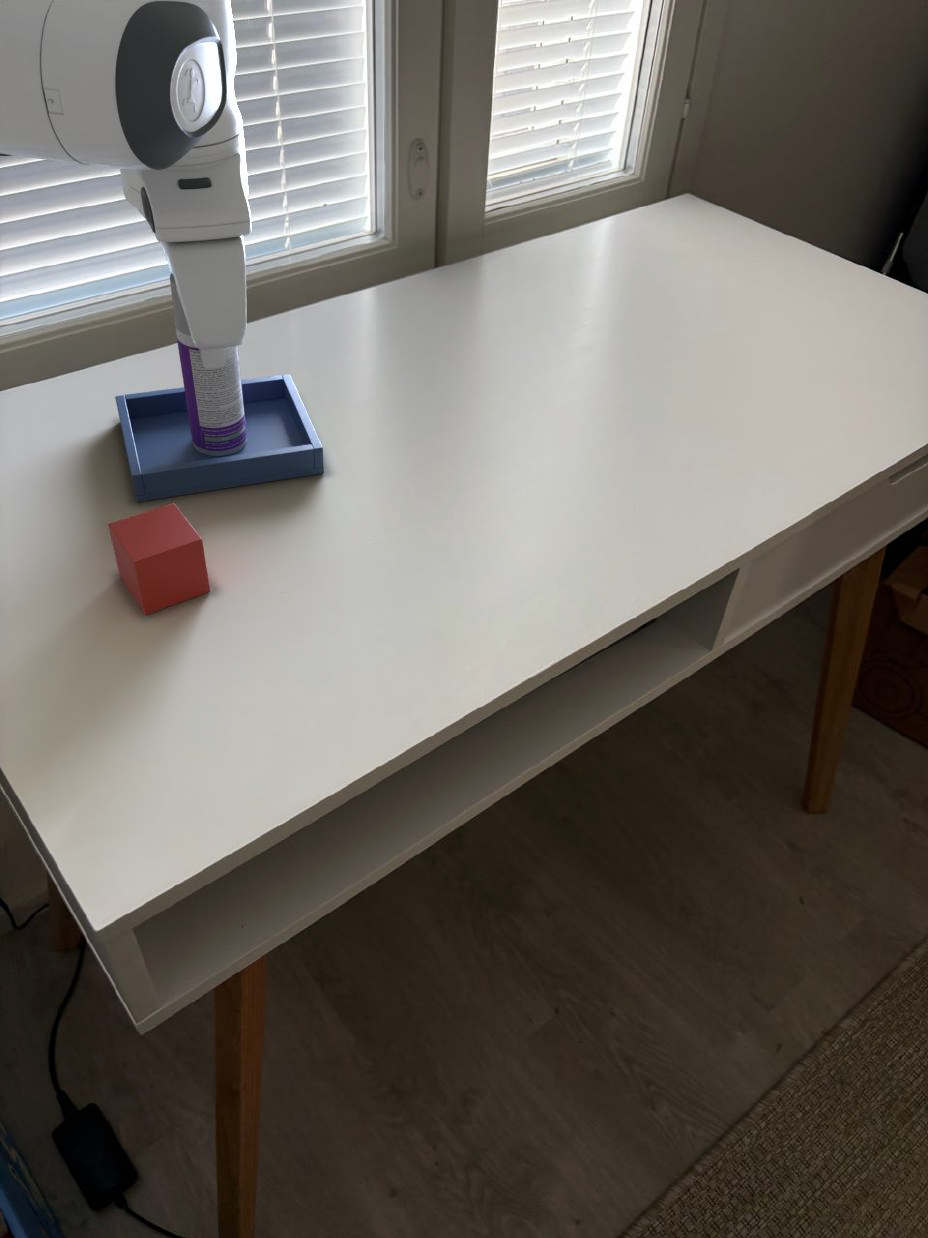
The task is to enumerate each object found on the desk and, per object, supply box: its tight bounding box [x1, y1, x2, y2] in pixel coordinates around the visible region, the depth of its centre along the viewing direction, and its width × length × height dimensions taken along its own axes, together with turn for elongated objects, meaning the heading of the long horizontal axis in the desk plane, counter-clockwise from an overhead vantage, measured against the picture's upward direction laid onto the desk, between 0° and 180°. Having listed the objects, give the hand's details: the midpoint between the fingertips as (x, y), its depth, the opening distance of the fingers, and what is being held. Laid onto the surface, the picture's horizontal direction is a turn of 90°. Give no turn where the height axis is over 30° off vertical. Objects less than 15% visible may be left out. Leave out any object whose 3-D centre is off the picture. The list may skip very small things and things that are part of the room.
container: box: [169, 272, 247, 456], centre depth 83 cm, size 5×5×15 cm
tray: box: [114, 373, 325, 503], centre depth 88 cm, size 16×13×3 cm
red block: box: [107, 502, 211, 616], centre depth 73 cm, size 5×5×5 cm
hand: (207, 345), depth 82 cm, fingers closed on container, 5 cm apart
